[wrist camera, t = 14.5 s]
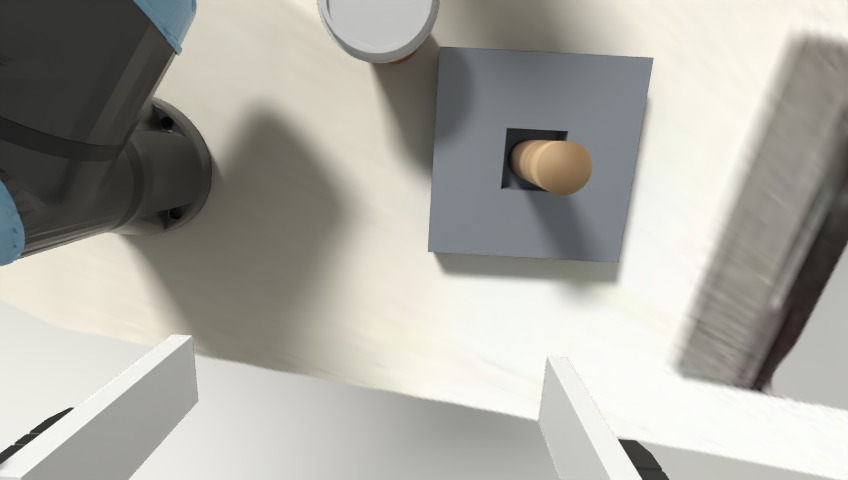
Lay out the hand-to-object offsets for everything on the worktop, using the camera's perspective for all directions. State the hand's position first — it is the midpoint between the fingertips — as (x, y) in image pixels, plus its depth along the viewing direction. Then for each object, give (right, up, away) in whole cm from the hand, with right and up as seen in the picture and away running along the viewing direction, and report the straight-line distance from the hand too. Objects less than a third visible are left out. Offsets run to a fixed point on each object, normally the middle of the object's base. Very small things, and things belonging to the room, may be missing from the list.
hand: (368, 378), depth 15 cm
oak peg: (+13, +14, +29) cm, 35 cm away
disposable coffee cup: (-1, +27, +27) cm, 38 cm away
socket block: (+13, +14, +30) cm, 36 cm away
